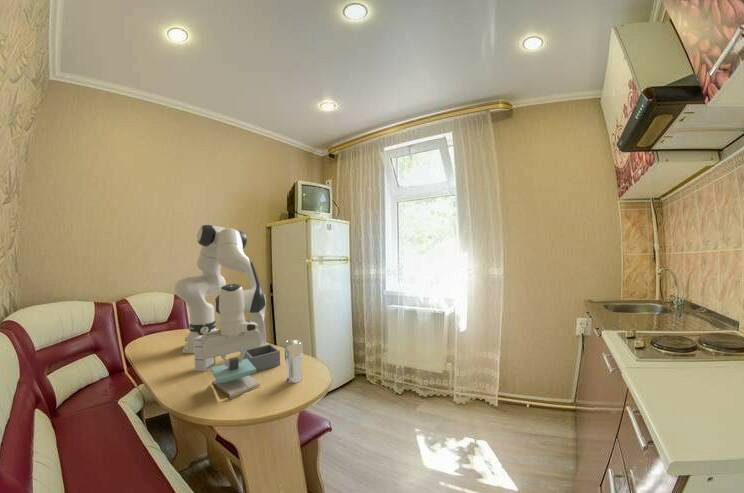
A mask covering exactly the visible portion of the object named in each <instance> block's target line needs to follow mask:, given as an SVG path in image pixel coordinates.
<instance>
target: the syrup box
mask: <svg viewBox="0 0 744 493" xmlns="http://www.w3.org/2000/svg"><path fill="white" fill-rule="evenodd" d="M202 336H203V335H202ZM202 336H199V337H196V338H194V353H193V354H194V371H196V372H208V370H209V369H211V367H215V366H217V365H216V357H214V358H210V359H204V358H203V356H202V347H203V345H202V344H201V337H202ZM204 336H206V335H204Z"/></svg>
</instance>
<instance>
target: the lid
mask: <svg viewBox="0 0 744 493" xmlns="http://www.w3.org/2000/svg"><path fill="white" fill-rule="evenodd" d="M227 360H229V361H230V363H229V364H230V365H229V366H225V364H224V363H223V364H221V365H214V366H212V367H211V368H210V370H211V372H212V375H213V377H214V379H216V381H217V383H220V382H222V383H225V382H228V381H231V380H235V379H238V378H242V377H245V376H251V375H252V374H255V373H257V372H256V368H255V367H254V366H253V365H252V364H251V362H250V361H249V360H248V359H244V358H242V362H241V363H239V359H238V358H237V356H235V357H231V358H228V359H227Z"/></svg>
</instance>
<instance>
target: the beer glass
mask: <svg viewBox="0 0 744 493" xmlns="http://www.w3.org/2000/svg"><path fill="white" fill-rule="evenodd" d="M303 346H304V345H303V340H302V339H290V340H287V341H285V343H284V358H285V365H286V370H287V373H286V374H287V375H286V376H287V377H286V383H288V384H298V383H300V382H302V381H303V374H302V366H303V357H304V347H303Z"/></svg>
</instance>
